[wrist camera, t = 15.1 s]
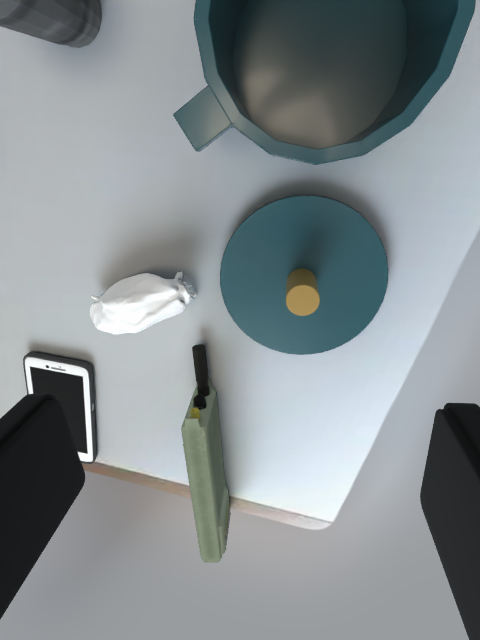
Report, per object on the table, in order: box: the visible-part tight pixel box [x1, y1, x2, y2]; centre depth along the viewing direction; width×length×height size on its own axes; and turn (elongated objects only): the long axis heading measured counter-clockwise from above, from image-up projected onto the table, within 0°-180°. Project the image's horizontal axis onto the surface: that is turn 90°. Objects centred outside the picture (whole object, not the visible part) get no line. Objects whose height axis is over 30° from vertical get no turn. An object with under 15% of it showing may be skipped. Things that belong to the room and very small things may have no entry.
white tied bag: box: [90, 271, 197, 335], centre depth 33 cm, size 5×7×10 cm
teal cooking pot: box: [173, 0, 475, 165], centre depth 22 cm, size 14×19×9 cm
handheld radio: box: [181, 344, 230, 562], centre depth 39 cm, size 7×3×25 cm
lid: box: [220, 195, 388, 355], centre depth 31 cm, size 15×15×6 cm
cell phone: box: [23, 352, 97, 464], centre depth 43 cm, size 8×15×1 cm, turn 172°
